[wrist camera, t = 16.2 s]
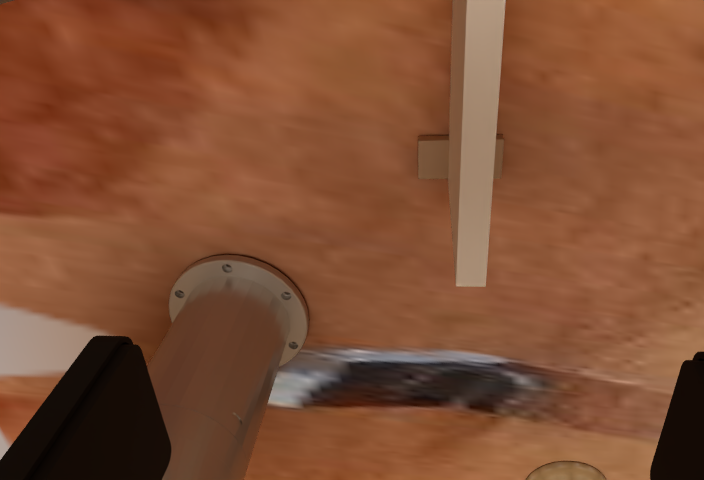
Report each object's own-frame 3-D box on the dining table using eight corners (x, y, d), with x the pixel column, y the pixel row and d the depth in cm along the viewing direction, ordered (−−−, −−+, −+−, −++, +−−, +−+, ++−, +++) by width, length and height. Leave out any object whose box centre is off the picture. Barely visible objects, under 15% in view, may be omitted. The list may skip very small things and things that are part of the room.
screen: (499, 178, 44) (526, 287, 32) (418, 179, 44) (415, 285, 32) (526, -183, 32) (585, -226, 21) (418, -174, 33) (413, -210, 21)
